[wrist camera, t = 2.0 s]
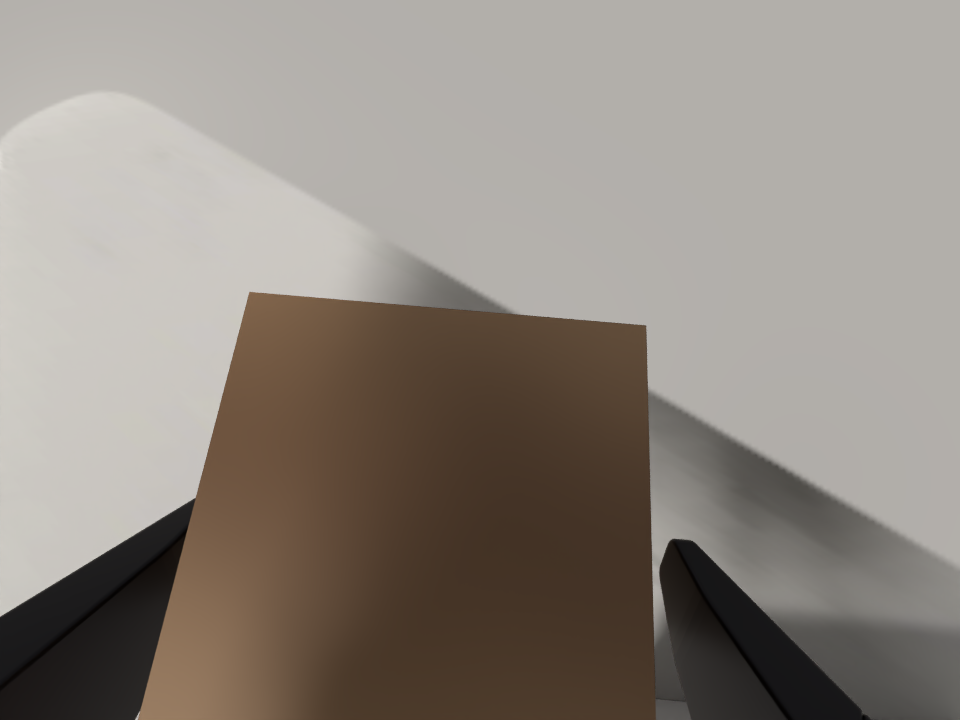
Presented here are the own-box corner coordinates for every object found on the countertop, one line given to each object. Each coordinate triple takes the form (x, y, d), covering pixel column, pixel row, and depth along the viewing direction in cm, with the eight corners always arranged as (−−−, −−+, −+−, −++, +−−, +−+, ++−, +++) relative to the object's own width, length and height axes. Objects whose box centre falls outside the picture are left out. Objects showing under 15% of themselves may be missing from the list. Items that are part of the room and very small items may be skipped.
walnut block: (521, 595, 17) (657, 827, 4) (380, 582, 17) (122, 774, 4) (528, 452, 18) (645, 325, 6) (400, 441, 18) (249, 291, 6)
